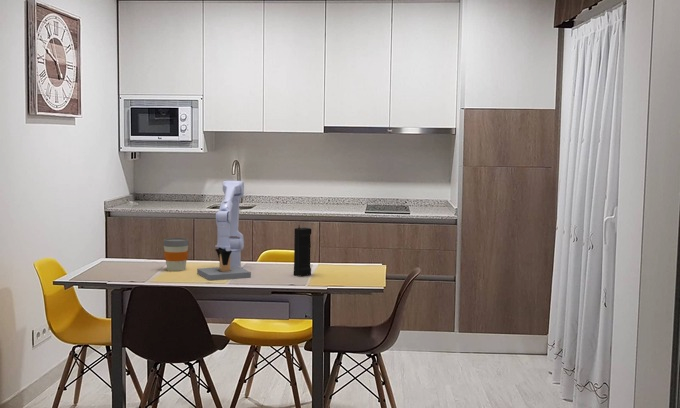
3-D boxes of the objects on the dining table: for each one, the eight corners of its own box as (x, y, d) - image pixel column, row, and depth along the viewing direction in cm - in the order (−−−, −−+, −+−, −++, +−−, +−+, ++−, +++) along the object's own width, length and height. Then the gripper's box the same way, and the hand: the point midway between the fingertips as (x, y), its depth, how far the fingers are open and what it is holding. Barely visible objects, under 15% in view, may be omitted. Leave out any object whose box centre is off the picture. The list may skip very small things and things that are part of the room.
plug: (219, 270, 381) (219, 254, 381) (227, 270, 383) (227, 253, 382) (222, 272, 378) (222, 255, 377) (230, 271, 379) (230, 254, 379)
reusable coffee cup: (192, 267, 402) (191, 238, 401) (184, 272, 389) (184, 241, 388) (167, 267, 403) (167, 237, 402) (159, 271, 391) (159, 241, 389)
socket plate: (197, 273, 385) (197, 268, 384) (236, 270, 394) (236, 265, 393) (209, 280, 367) (209, 275, 367) (250, 277, 376) (250, 272, 376)
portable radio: (305, 273, 388) (305, 222, 386) (313, 274, 384) (313, 223, 381) (292, 275, 383) (292, 223, 381) (300, 276, 378) (300, 224, 376)
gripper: (210, 234, 383) (210, 262, 384) (220, 238, 370) (220, 267, 371) (224, 233, 386) (225, 261, 388) (234, 237, 373) (234, 266, 375)
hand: (223, 264), depth 380 cm, fingers closed on plug, 4 cm apart
